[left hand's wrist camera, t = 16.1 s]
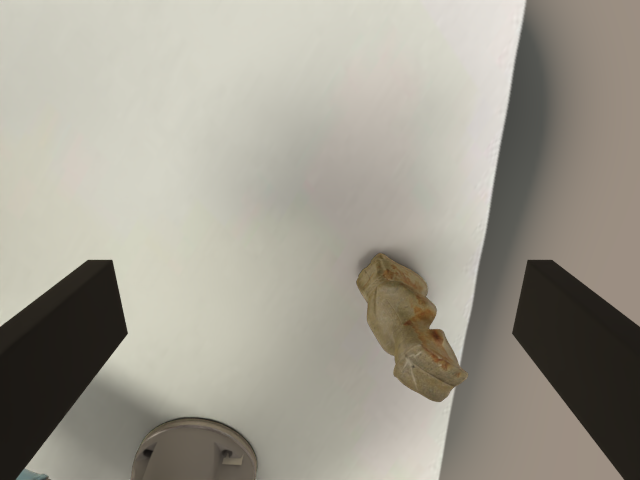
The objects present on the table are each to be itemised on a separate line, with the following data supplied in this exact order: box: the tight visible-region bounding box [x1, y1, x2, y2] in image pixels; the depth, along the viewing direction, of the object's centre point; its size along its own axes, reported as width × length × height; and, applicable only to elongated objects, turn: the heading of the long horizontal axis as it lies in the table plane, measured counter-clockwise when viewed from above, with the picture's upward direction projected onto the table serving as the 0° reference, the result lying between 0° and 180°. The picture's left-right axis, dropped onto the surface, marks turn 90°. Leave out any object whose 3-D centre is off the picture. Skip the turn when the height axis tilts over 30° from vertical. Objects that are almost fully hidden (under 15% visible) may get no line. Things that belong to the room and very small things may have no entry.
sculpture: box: [356, 253, 468, 402], centre depth 35 cm, size 6×7×15 cm
